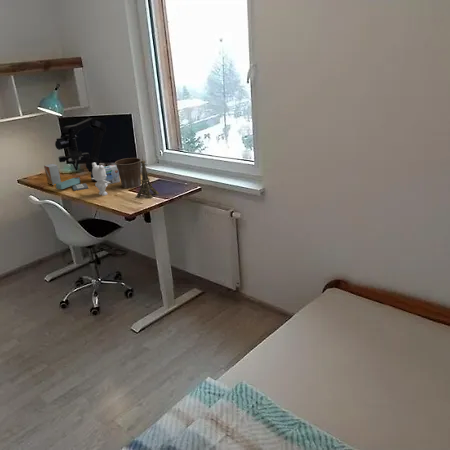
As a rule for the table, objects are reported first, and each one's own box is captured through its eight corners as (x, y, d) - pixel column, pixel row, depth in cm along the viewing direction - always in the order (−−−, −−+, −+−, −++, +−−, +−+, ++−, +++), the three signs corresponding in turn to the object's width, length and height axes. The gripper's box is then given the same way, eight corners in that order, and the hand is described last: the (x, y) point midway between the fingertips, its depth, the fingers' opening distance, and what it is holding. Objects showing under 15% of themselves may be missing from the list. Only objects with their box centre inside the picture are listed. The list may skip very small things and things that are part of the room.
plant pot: (138, 189, 287) (135, 164, 281) (114, 189, 290) (110, 164, 285) (147, 181, 302) (144, 157, 296) (124, 182, 305) (121, 158, 299)
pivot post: (80, 183, 308) (79, 181, 308) (80, 184, 306) (80, 182, 305) (75, 184, 307) (75, 182, 307) (76, 185, 305) (75, 183, 304)
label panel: (86, 184, 305) (85, 182, 305) (88, 188, 296) (88, 186, 295) (72, 186, 302) (71, 185, 302) (74, 191, 293) (73, 189, 292)
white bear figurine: (99, 190, 291) (94, 160, 284) (118, 195, 278) (113, 163, 271) (89, 193, 286) (83, 162, 279) (107, 198, 273) (102, 166, 266)
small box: (47, 184, 313) (43, 165, 308) (56, 181, 317) (52, 163, 312) (52, 186, 307) (48, 167, 302) (61, 183, 311) (57, 165, 306)
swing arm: (82, 181, 306) (81, 177, 305) (61, 189, 293) (60, 184, 292) (77, 181, 309) (76, 176, 308) (56, 188, 295) (55, 184, 294)
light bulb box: (105, 185, 301) (103, 169, 297) (101, 183, 306) (98, 167, 302) (120, 181, 307) (118, 165, 303) (116, 179, 312) (113, 164, 308)
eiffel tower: (144, 192, 281) (138, 151, 271) (159, 193, 277) (154, 152, 268) (135, 197, 271) (129, 155, 262) (150, 198, 268) (145, 156, 259)
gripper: (58, 150, 281) (62, 175, 287) (89, 146, 288) (93, 170, 294) (56, 147, 291) (61, 171, 296) (86, 143, 297) (90, 167, 303)
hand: (76, 170), depth 297 cm, fingers closed
